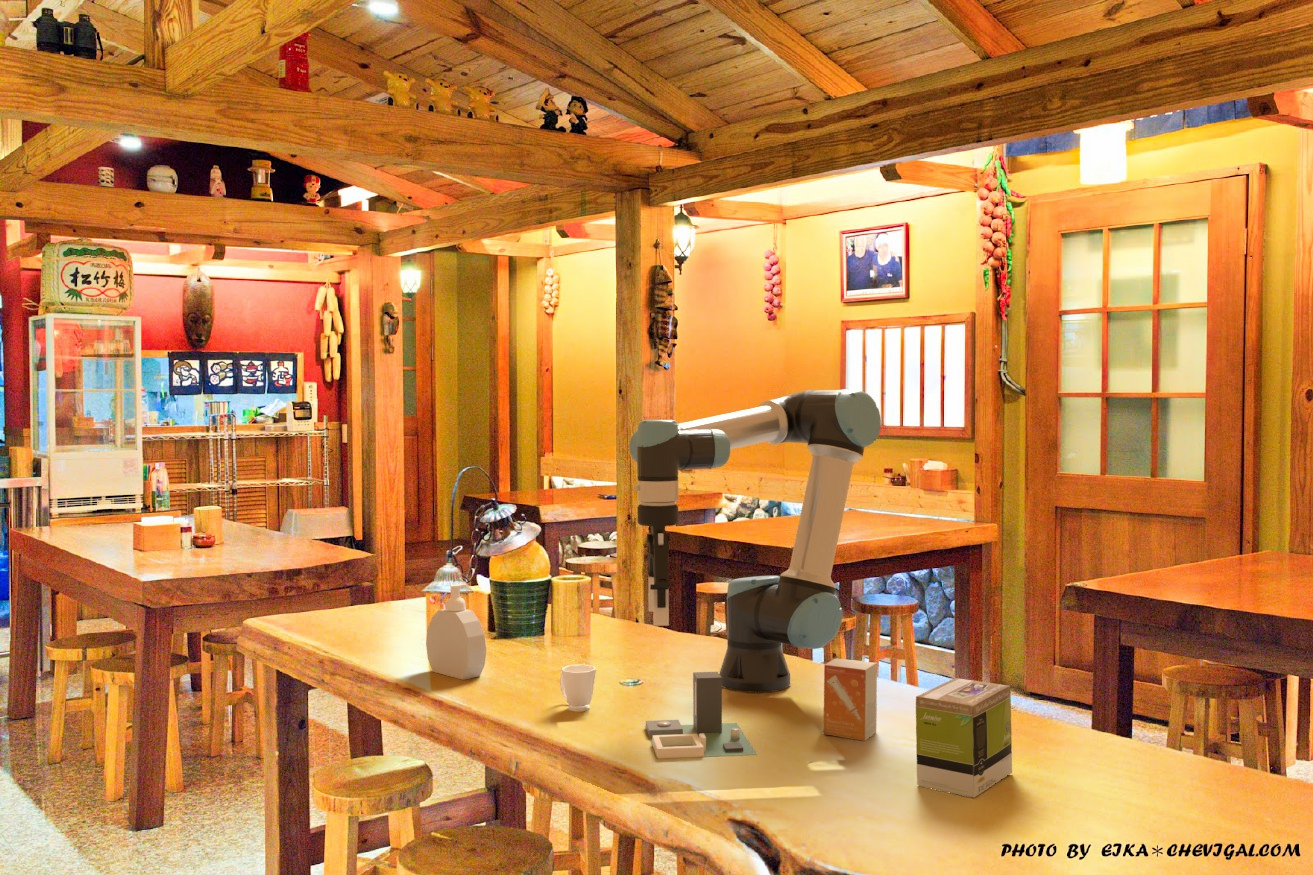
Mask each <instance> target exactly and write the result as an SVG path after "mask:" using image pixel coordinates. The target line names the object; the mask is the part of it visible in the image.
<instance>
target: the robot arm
mask: <svg viewBox="0 0 1313 875" xmlns="http://www.w3.org/2000/svg"><path fill="white" fill-rule="evenodd" d="M881 426H882V418H881V414H880V409H879V407H877V402H876V401H875V400H874V399H873V397H872V396H871V395H870V394H868V393H867V392H865V391H863V390H860V389H859V390H858V389H849V388H843V389H820V390H819V389H807V390H803V391H798V392H794V393H792V394H787V395H784V396H780V397H776V398H773V399H768V400H764V401H763V402H761V403H760V405H759V406H758V407H752V408H748V409H743V410H738V411H732V412H729V413H723V414H718V415H714V416H709V417H704V418H699V419H695V420H689V421H684V422H679V423H678V421H677V420H676V419H675V420H674V419H643V420H641V421H639V423H638V425H637V430H636V431H635V432H633V434H632V435H631V437H630V439H629V444H628V448H629V453H630V456H631V458H632V460H634V462H636V464H637V467H636V468H637V469H636V470H637V473H636V474H637V485H634V487H633V489H634V491H637V501H638V502H640V504H638V505H637V523H638V525H640V526H644V527H648V528H647V529H648V533H647V534H646V544H647V553H648V556H647V557H648V558H647V560H648V562H647V567H646V568H647V575H648V576H647V579H648V583H647V584H648V594H647V596H648V600H647V601H648V612H652V615H653V619H652V620H653V621H652V622H653V627H654V626H656V627H657V626H660V627H661V626H670V624H669V623H670V617H669V616H670V615H669V613H670V610H669V608H670V607H669V606H670V603H669V602H670V597H669V596H670V595H669V594H670V593H669V588H670V585H671V582H670V573H669V572H670V571H669V570H670V568H669V556H670V555H669V554H670V548H669V547H670V535H669V534H668V533H667V532H666V527H671V526H676V525H677V524H678V523H679V505H678V504H676V503H677V502H678V501H679V471H683V470H712V469H717V468H721V467H724V466H725V465H726V464H727V462H728V460H730V455H731V450H735V449H739V448H744V447H748V446H752V445H757V444H763V443H768V444H770V445H778V444H784V443H798V444H807V449H808V451H809V452H810V454H811V456H812V460H811V464H810V468H809V473H808V476H807V484H806V487H805V491H804V497H803V502H802V507H801V511H800V516H799V520H798V525H797V529H796V535H795V539H794V544H793V549H792V553H791V560H790V563H789V567H788V569H787V570H785V571H783V572H782V573H781V574H780V575H758V576H757V575H756V576H747V577H739V578H735V579H732V580H730V581H729V583H728V585H727V594H726V598H725V599H726V622H727V623H726V626H727V627H726V633H727V635H726V636H727V647H726V648H727V649H726V652H725V654H724V657H723V661H722V664H721V668H720V670H719V674H720V676H721V677H722V688H725V689H727V690H730V691H731V690H732V691H735V692H742V693H743V692H745V693H769V692H778V691H783V690H785V689H787V688H788V687H790V686H791V673H790V670H789V666H788V663H787V661H786V657H785V654H784V651H783V644H785V645H786V644H787V645H790V646H794V647H795V648H800V649H811V650H817V649H818V650H819V649H821V648H823V647H825V646H826V645H828V643H831V642H832V641H833V640H834V638H835V637H836V636H837V635H838V632H839V630H840V628H841V625H842V621H843V608H842V607H841V606H842V605H841V602H840V600H839V598H838V597H837V596H836V595H835V594H836V589H837V586H836V584H835V583H834V582H833V580H832V577H831V576H832V572H833V567H834V561H835V557H836V552H837V546H838V542H839V537H840V532H841V528H842V522H843V518H844V512H845V508H846V504H847V503H846V502H847V498H848V492H849V488H850V483H851V480H852V479H851V478H852V474H853V467H854V465H855V464H857V463H858V462H859V461H861V460H862V459H863V457H864V453H865V448H867V447H869V446H871V445H872V444H874V442H876V441H877V439H878V438H879V435H880V432H881Z"/></svg>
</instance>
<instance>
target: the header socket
mask: <svg viewBox="0 0 1313 875" xmlns="http://www.w3.org/2000/svg"><path fill="white" fill-rule="evenodd" d="M652 745H653V746H652ZM672 745H692V746H674V747H663V746H672ZM651 746H652V748H653V747H654V749H653V751H654V750H655V752H654V754H655V753H656V755H657V757H656V759H657V758H669V759H683V758H682V757H693V758H705V757H704V752H706V737H705V735H704V733H702V734H699V737H698V735H697V734H675V735H652V744H651ZM656 755H655V756H656Z"/></svg>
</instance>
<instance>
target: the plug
mask: <svg viewBox="0 0 1313 875" xmlns="http://www.w3.org/2000/svg"><path fill="white" fill-rule="evenodd" d="M692 677H693V679H692V680H693V681H692V685H693V686H692V687H693V688H692V689H693V692H692V694H693V695H692V697H693V698H692V699H693V705H692V706H693V707H692V708H693V709H692V710H693V711H692V714H693V715H692V716H693V723H692V725H693V727H694V729H695V731H696V733H697V734H702V733H722V723H723V707H722V706H723V705H722V704H723V701H722V700H723V698H722V697H723V694H722V692H723V691H722V690H723V687H722V677H721V676H720V672H718V671H696V672H695V671H694V672H692Z"/></svg>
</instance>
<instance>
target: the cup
mask: <svg viewBox="0 0 1313 875" xmlns="http://www.w3.org/2000/svg"><path fill="white" fill-rule="evenodd" d="M596 672H597V668H596V667H595V666H594V665H590V664H583V663H581V664H569V665H566V666H563V667H561V673H560V682H559V683H560V691H561V694H562V695H563V698H564V699H565V701H566V702H567V703H568V707H567V709H568V710H569V711H570V712H571V711H572V712H575V713H576V712H577V713H579V712H586V711H589V710H591V707H590V704H591V702H592V698H593V693H594V685H595V679H596Z"/></svg>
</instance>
